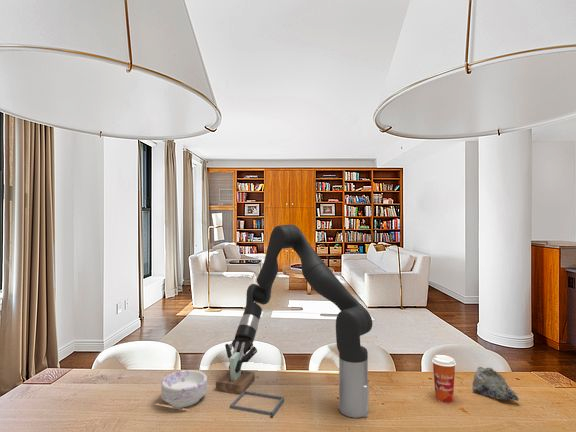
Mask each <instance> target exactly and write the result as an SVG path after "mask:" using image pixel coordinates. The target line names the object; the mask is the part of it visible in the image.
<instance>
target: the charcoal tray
mask: <svg viewBox="0 0 576 432" xmlns="http://www.w3.org/2000/svg"><path fill="white" fill-rule="evenodd" d="M245 395H249V396H255V397H260V398H265V399H274V400H279V401H278V402H277V403H276V405H275V406H274V408H273V409H272V410H271V411H269V410H263V409H259V408H258V409H257V408H252V407H246V406H241V405H240V406H239V405H237V403H238V402H240V400H241V399H242V398H243V397H244V396H245ZM284 402H285V397H284V396H280V395H275V394H274V395H273V394H266V393H261V392H253V391H250V390H249V391H248V390H245V391H243V392H242V393H241V395H238V397H236V399H235V400H233V402H232V403H230V405H229V409H234V410H239V411H244V412H248V413H249V412H250V413H255V414H261V415H266V416H270V417H269V418H271V419H274V417H275V416H276V414H277V412H278V411H279V410H280V408H281V407H282V406H283V404H284Z"/></svg>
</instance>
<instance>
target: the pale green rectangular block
mask: <svg viewBox="0 0 576 432" xmlns="http://www.w3.org/2000/svg"><path fill="white" fill-rule="evenodd" d="M239 356H240V353H239V352H235V353H234V354H233V353H232V356H231V357H230V358H228V359H229V365H230V377H231V381H232V382H234V381H235V380H236V379H237V378H239V377H240V376H241V370H242V368H241V369H240V371H238V373H236V372H235V368H236V365H237V362H238V361H239V360H238V359H239Z"/></svg>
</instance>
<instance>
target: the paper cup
mask: <svg viewBox="0 0 576 432" xmlns="http://www.w3.org/2000/svg"><path fill="white" fill-rule="evenodd" d="M431 362H432V366H433V367H432V368H433V382H434V394H435V395H434V396H435V399H436V400H437V399H438V400H437V401H439V400H440V401H439V402H441V401H442V402H441V403H445V402H450V403H452V402H453V401H454V390H455V389H454V387H455V374H456V371H455V370H456V366H457V363H456V360H455V358H453V357H451V356H449V355H444V354H443V355H442V354H435V355H434V356H433V358H432V360H431Z"/></svg>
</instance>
